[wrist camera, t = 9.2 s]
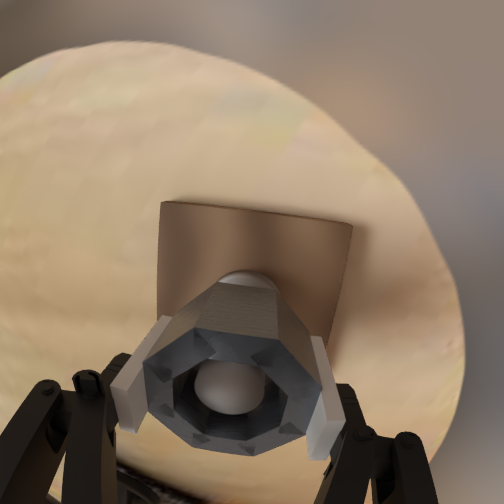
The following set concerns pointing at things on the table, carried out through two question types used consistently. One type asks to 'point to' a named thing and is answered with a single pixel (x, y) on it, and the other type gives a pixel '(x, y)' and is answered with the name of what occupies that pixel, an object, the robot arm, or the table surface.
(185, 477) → the table surface
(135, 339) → the table surface
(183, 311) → the collar
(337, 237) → the shaft block
